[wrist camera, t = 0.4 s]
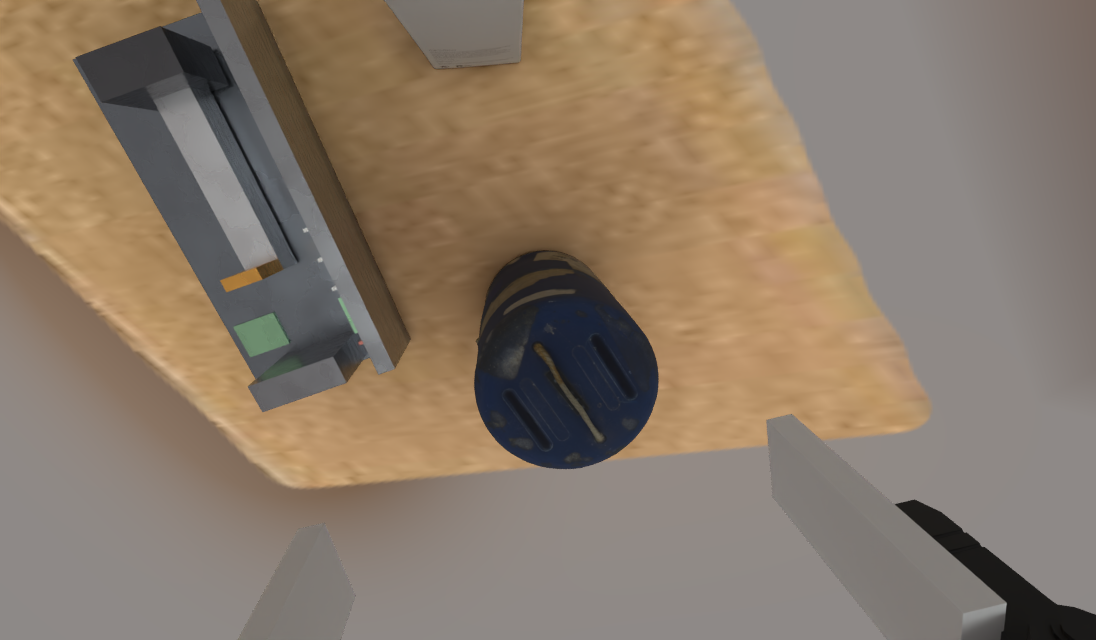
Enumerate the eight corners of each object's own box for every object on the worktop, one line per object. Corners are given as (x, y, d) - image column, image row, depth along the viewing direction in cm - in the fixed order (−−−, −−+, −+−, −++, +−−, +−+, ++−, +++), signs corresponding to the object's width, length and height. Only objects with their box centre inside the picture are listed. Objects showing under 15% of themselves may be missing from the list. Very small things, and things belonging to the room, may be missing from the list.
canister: (506, 375, 42) (509, 517, 25) (466, 269, 40) (438, 349, 22) (615, 338, 42) (692, 457, 25) (582, 230, 39) (644, 279, 22)
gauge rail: (87, 63, 33) (-21, 36, 27) (257, 1, 33) (193, -42, 26) (271, 388, 41) (224, 433, 34) (410, 339, 41) (391, 374, 34)
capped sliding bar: (138, 73, 33) (66, 55, 27) (210, 46, 32) (153, 23, 27) (249, 279, 37) (207, 299, 32) (314, 257, 37) (282, 272, 31)
